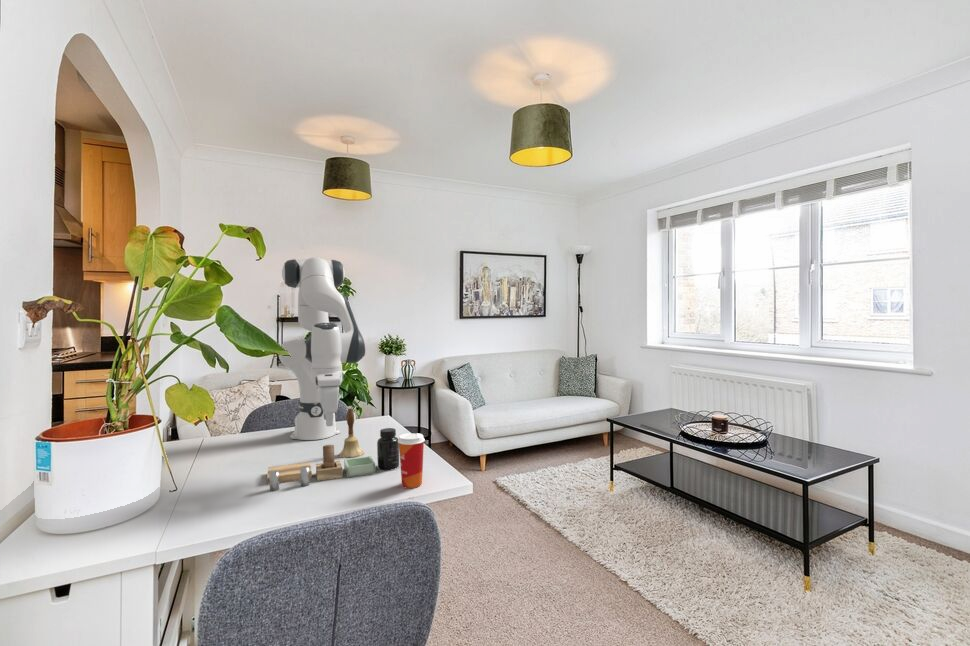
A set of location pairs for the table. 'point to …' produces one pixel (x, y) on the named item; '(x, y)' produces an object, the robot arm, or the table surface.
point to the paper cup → (411, 459)
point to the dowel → (328, 456)
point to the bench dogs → (275, 478)
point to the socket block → (329, 471)
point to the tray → (359, 466)
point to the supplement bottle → (388, 449)
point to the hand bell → (351, 439)
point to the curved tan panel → (289, 472)
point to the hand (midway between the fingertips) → (328, 422)
